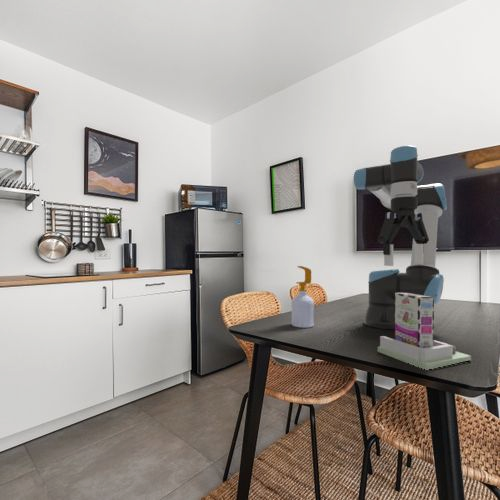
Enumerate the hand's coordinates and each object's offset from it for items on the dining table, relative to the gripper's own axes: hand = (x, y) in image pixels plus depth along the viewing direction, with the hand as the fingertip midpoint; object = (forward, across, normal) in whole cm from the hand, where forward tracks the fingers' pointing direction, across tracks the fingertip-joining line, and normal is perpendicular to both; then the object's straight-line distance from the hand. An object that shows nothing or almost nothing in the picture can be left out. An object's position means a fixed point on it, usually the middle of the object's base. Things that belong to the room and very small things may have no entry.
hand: (404, 265), depth 95 cm
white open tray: (+26, -2, -7) cm, 27 cm away
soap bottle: (+27, -13, +38) cm, 48 cm away
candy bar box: (+25, -4, -6) cm, 26 cm away
